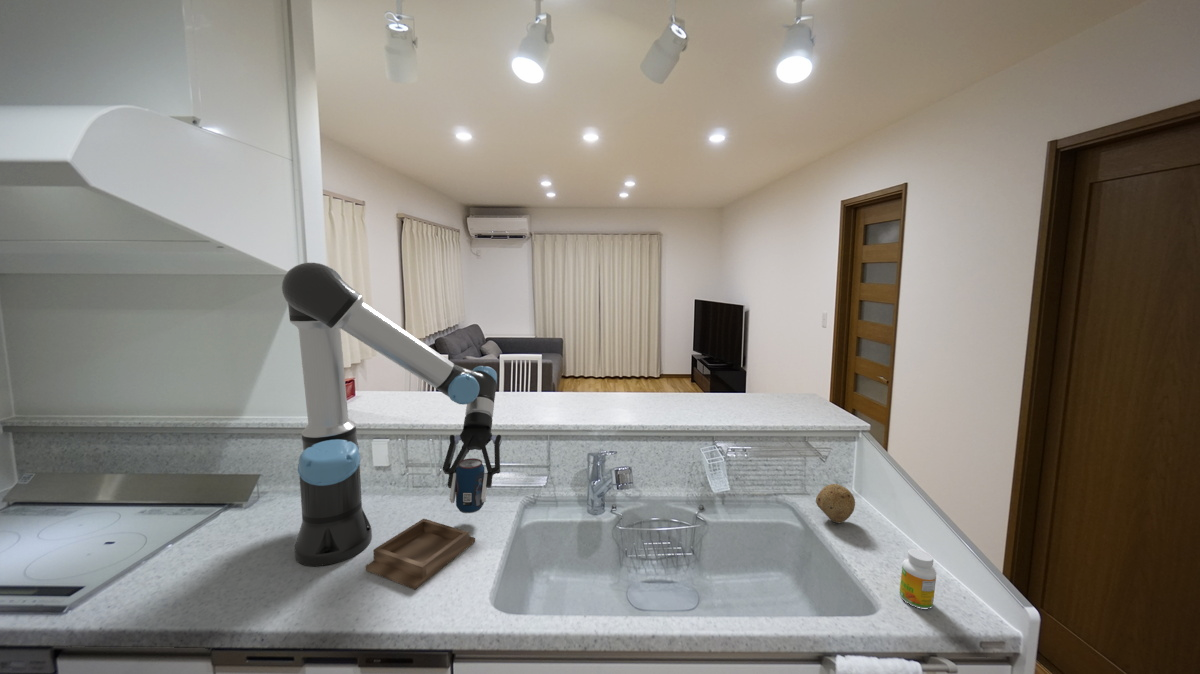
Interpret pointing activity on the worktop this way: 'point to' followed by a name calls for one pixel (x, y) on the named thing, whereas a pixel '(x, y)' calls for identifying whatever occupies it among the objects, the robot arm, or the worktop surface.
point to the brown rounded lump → (836, 502)
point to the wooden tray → (419, 552)
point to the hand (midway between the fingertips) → (467, 500)
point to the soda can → (469, 485)
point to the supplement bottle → (918, 579)
